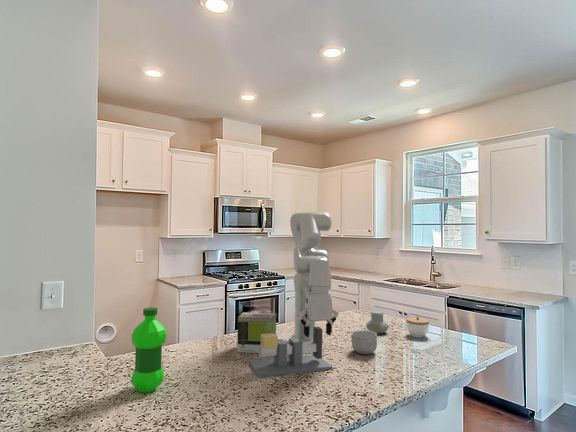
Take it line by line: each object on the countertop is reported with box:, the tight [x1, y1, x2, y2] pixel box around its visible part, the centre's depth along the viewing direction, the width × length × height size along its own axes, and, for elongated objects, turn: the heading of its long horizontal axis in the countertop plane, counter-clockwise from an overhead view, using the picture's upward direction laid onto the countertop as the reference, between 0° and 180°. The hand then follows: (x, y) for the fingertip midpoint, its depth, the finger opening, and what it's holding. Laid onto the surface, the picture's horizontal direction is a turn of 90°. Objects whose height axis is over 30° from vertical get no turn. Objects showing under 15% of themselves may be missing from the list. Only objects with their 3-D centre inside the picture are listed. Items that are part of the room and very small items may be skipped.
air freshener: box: [365, 310, 389, 335], centre depth 193 cm, size 11×8×10 cm
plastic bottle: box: [130, 307, 167, 393], centre depth 120 cm, size 10×10×25 cm
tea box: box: [236, 312, 277, 354], centre depth 161 cm, size 15×10×15 cm, turn 84°
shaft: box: [257, 326, 323, 359], centre depth 142 cm, size 4×24×11 cm, turn 110°
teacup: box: [350, 329, 378, 355], centre depth 162 cm, size 14×11×8 cm
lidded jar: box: [405, 316, 430, 338], centre depth 188 cm, size 11×11×9 cm
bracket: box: [248, 337, 333, 378], centre depth 142 cm, size 14×28×10 cm, turn 110°
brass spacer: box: [261, 333, 279, 349], centre depth 140 cm, size 5×5×4 cm
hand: (317, 335), depth 146 cm, fingers open, 8 cm apart
